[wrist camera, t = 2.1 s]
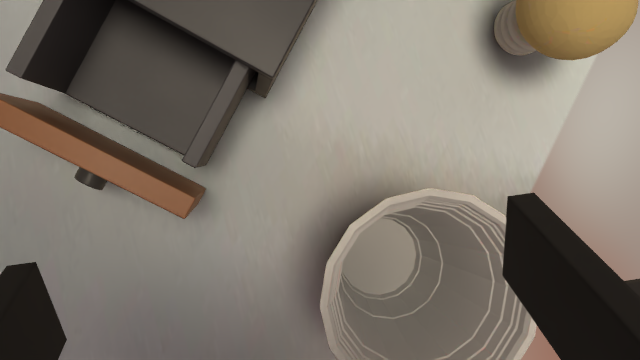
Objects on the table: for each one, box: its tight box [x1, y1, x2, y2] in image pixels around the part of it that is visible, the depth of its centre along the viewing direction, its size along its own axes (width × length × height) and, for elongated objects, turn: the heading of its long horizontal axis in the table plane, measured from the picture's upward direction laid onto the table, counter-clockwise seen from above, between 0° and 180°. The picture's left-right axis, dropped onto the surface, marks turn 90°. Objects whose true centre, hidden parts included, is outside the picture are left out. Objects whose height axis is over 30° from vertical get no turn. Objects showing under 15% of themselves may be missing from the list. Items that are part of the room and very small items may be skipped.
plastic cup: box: [319, 188, 537, 360], centre depth 31 cm, size 11×11×12 cm
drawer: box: [0, 0, 256, 219], centre depth 30 cm, size 15×11×8 cm
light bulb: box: [494, 0, 638, 60], centre depth 33 cm, size 6×6×10 cm
